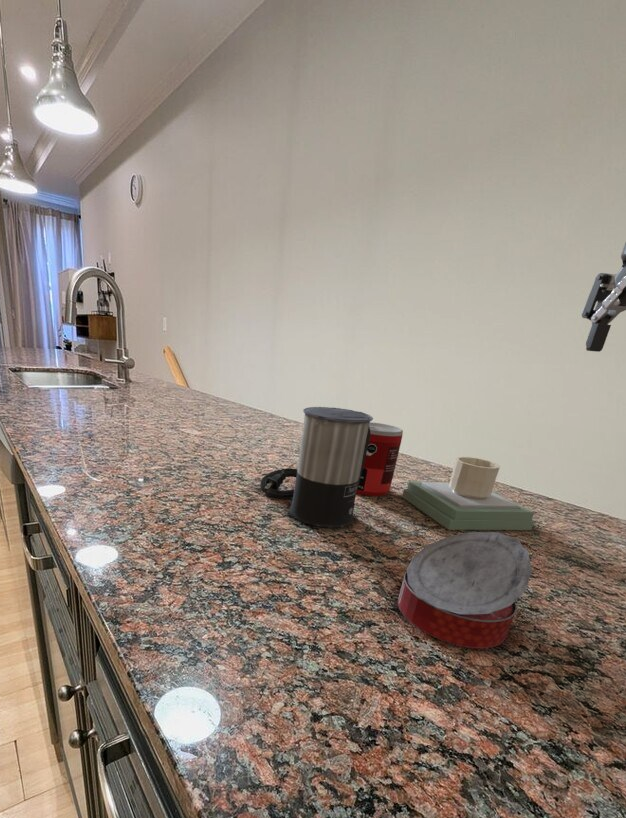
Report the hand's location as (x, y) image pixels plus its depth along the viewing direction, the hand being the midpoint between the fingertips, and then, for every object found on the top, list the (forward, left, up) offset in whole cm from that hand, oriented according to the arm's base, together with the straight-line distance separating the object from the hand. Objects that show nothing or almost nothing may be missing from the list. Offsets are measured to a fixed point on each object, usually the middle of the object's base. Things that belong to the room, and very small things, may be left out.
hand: (620, 352), depth 62 cm
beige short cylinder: (+16, -2, -22) cm, 27 cm away
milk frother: (+42, -4, -26) cm, 49 cm away
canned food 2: (+36, +24, -26) cm, 50 cm away
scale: (+16, -2, -25) cm, 30 cm away
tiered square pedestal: (+16, -2, -24) cm, 28 cm away
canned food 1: (+28, -12, -26) cm, 40 cm away
